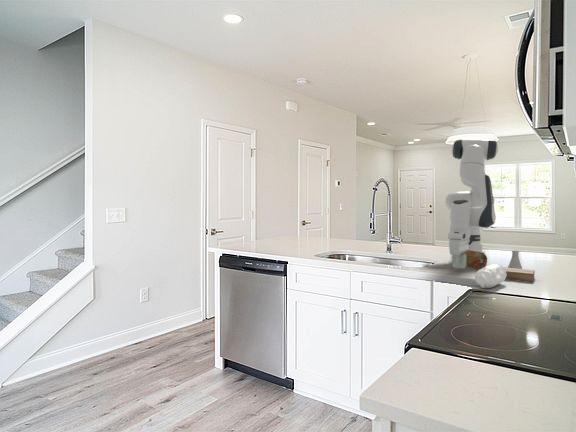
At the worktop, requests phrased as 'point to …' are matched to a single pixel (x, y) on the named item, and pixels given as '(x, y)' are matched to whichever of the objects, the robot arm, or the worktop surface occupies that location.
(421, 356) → the worktop surface
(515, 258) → the flask
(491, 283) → the white plastic bottle
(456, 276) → the worktop surface
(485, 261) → the tin
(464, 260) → the sage block
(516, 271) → the brown block
